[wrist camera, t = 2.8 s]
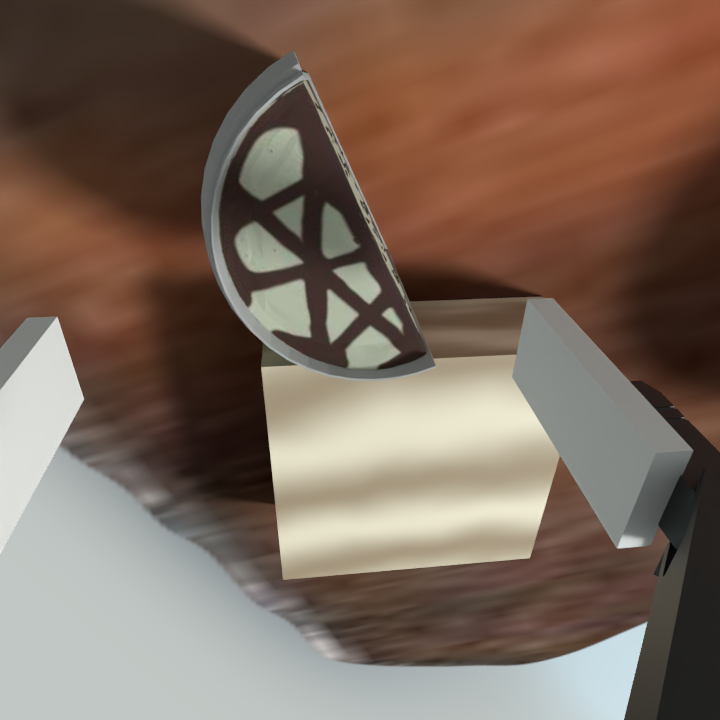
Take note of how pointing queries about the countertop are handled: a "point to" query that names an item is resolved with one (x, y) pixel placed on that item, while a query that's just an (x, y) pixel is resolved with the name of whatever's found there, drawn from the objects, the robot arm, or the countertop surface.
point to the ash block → (410, 453)
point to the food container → (303, 238)
